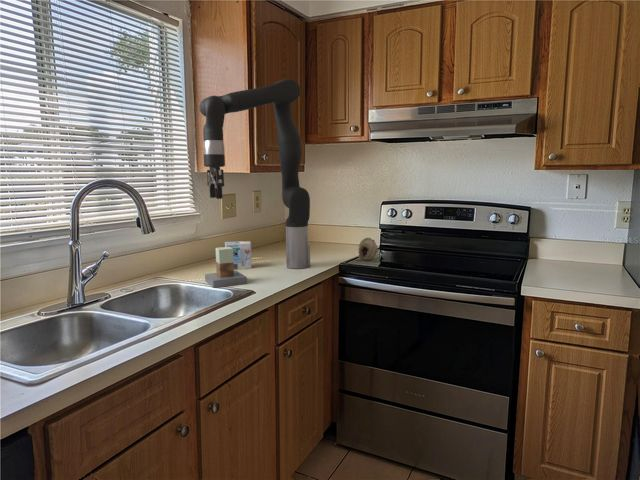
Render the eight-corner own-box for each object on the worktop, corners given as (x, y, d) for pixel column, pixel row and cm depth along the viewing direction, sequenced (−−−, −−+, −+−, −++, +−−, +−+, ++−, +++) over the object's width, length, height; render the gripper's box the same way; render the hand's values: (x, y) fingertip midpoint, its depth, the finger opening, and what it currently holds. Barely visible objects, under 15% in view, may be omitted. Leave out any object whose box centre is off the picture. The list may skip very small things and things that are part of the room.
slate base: (236, 276, 172) (236, 270, 172) (246, 283, 162) (246, 276, 161) (205, 280, 167) (204, 274, 166) (213, 287, 156) (213, 280, 156)
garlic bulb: (357, 257, 208) (357, 236, 207) (376, 257, 208) (376, 236, 206) (358, 261, 199) (358, 239, 197) (378, 261, 198) (378, 239, 197)
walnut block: (229, 273, 167) (229, 260, 166) (234, 275, 163) (233, 262, 162) (216, 274, 165) (216, 261, 164) (220, 277, 160) (219, 263, 160)
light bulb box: (226, 270, 184) (225, 244, 183) (225, 267, 191) (224, 241, 189) (252, 268, 187) (251, 242, 185) (250, 265, 193) (249, 240, 192)
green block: (229, 260, 166) (229, 246, 166) (233, 262, 162) (232, 248, 161) (216, 261, 164) (215, 247, 163) (219, 263, 160) (219, 249, 159)
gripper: (229, 152, 160) (231, 198, 162) (218, 154, 172) (220, 197, 174) (208, 152, 156) (210, 199, 159) (199, 154, 169) (201, 197, 171)
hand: (216, 198), depth 167 cm, fingers open, 8 cm apart
